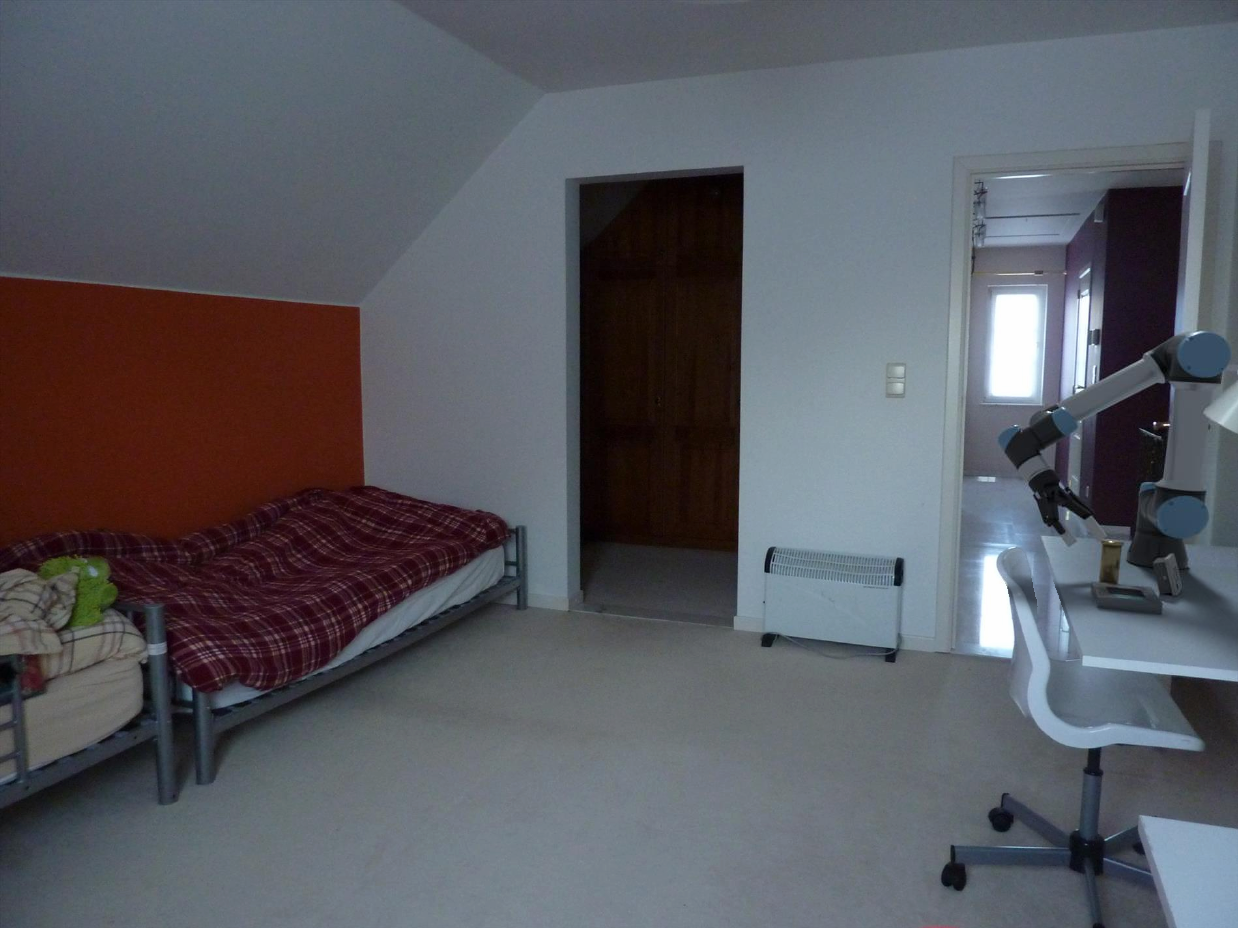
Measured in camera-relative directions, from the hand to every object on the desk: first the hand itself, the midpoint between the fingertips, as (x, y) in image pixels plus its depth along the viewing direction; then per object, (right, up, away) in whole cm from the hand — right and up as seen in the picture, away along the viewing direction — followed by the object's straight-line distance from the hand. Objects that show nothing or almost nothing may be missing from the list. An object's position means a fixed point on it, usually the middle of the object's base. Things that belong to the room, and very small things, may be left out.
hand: (1088, 541), depth 238 cm
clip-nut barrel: (+4, -11, -3) cm, 12 cm away
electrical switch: (+15, -12, -9) cm, 21 cm away
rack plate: (-2, -13, -20) cm, 24 cm away
